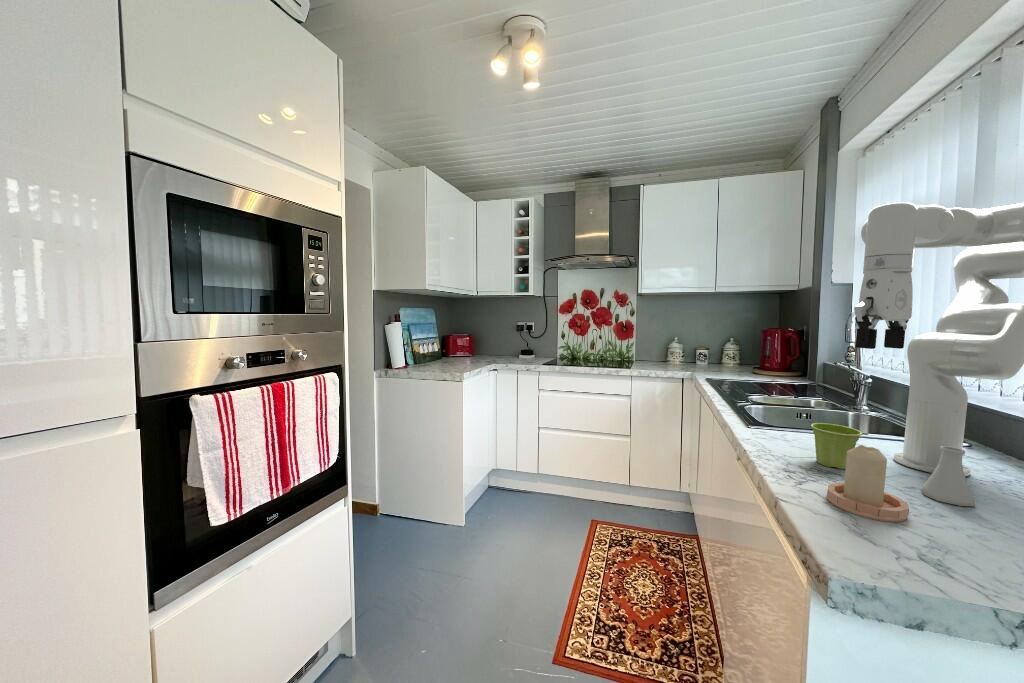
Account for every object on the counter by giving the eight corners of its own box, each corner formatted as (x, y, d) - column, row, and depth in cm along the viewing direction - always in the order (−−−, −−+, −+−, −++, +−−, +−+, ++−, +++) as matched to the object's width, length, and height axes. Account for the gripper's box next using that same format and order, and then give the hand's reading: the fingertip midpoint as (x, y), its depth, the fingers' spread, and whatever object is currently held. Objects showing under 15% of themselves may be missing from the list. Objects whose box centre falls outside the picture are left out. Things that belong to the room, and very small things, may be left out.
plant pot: (869, 470, 92) (872, 433, 91) (839, 474, 89) (842, 435, 89) (827, 456, 101) (829, 422, 100) (798, 459, 98) (801, 424, 98)
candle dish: (849, 490, 81) (850, 480, 81) (921, 516, 71) (922, 505, 71) (813, 497, 77) (814, 487, 77) (883, 526, 67) (884, 514, 67)
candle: (854, 505, 72) (859, 451, 72) (836, 492, 78) (841, 441, 77) (890, 509, 71) (895, 453, 70) (869, 495, 77) (874, 444, 76)
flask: (958, 494, 80) (963, 445, 80) (986, 510, 74) (992, 457, 73) (912, 488, 83) (916, 440, 82) (935, 503, 76) (941, 451, 75)
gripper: (884, 261, 77) (876, 350, 78) (934, 267, 83) (926, 349, 85) (840, 264, 84) (833, 346, 85) (889, 270, 90) (882, 346, 92)
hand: (879, 348), depth 85 cm, fingers open, 9 cm apart
